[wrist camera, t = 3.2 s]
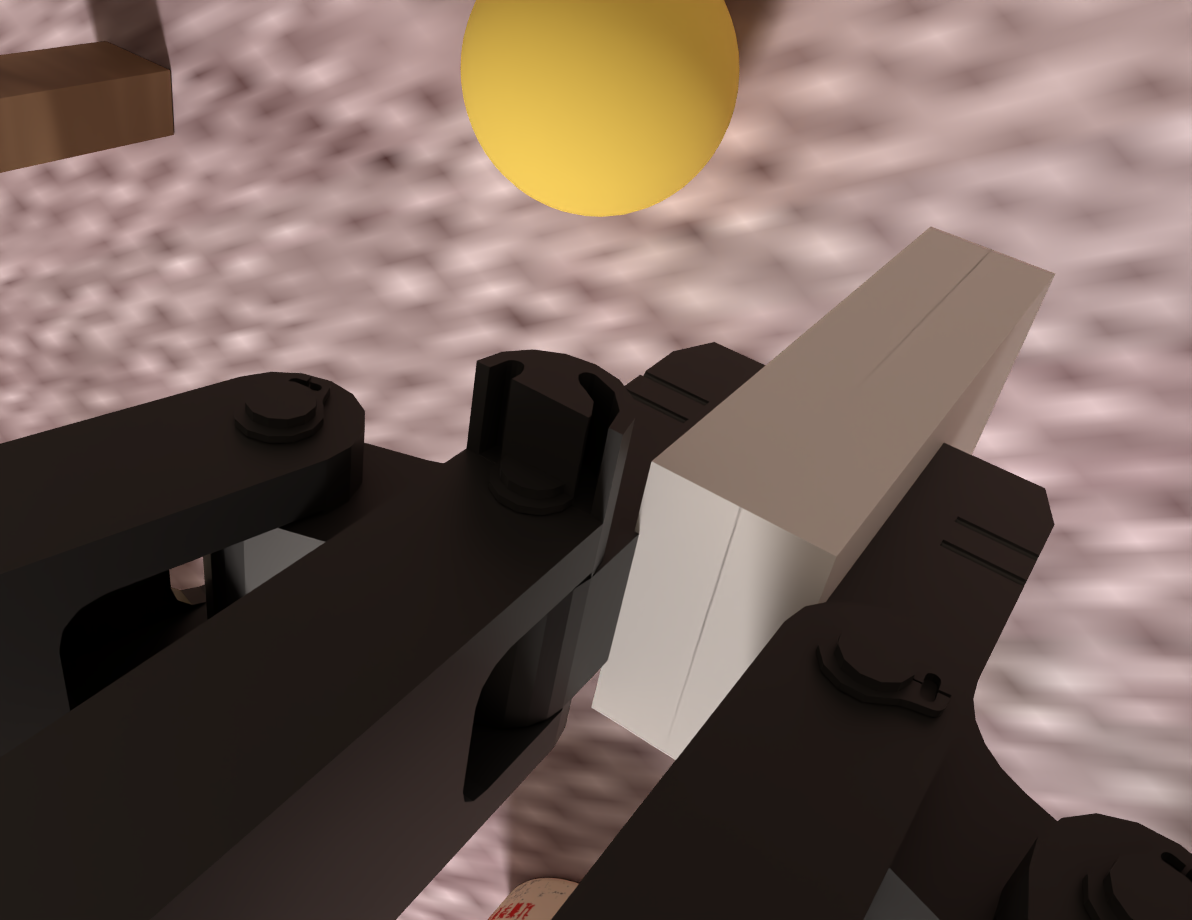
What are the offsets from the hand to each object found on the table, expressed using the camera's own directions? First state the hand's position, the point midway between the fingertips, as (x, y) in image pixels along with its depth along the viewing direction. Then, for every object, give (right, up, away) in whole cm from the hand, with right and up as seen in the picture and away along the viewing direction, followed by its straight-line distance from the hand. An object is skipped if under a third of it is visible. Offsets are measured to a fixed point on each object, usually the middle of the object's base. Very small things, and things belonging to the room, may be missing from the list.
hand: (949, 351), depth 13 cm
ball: (-4, +6, +8) cm, 11 cm away
